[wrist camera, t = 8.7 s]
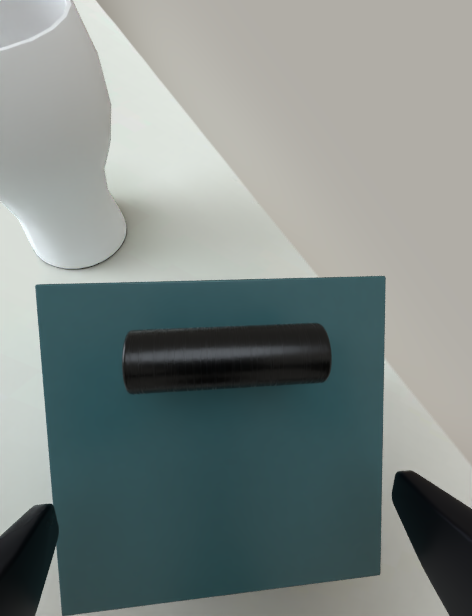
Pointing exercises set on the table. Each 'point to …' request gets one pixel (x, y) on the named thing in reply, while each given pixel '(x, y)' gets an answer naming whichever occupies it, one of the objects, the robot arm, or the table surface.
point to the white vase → (56, 134)
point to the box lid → (212, 435)
